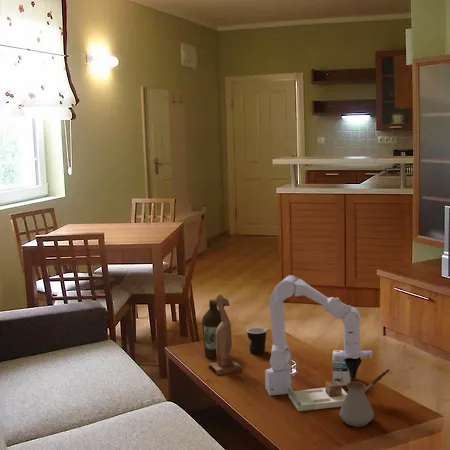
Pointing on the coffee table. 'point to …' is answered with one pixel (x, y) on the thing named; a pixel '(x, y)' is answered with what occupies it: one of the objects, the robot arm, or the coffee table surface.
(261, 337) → the coffee mug
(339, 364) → the light bulb box
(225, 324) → the bird sculpture
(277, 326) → the robot arm
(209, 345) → the olive oil
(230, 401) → the coffee table surface
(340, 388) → the walnut block
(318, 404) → the trap deck
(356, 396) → the coffee pot
